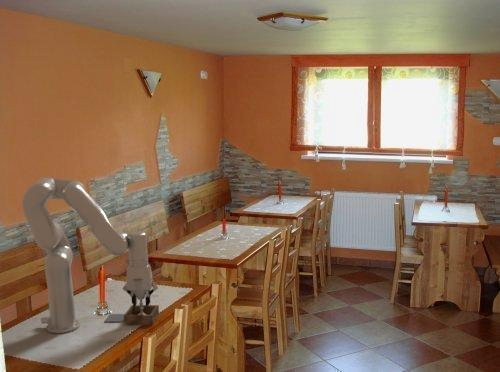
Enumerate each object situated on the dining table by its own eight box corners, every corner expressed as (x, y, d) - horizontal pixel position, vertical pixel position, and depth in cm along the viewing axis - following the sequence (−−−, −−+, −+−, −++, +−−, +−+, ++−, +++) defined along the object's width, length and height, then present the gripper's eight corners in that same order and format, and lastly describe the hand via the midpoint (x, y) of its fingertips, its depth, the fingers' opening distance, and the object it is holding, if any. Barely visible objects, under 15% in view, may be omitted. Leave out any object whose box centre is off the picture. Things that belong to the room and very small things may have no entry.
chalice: (148, 322, 229) (146, 280, 227) (131, 323, 230) (129, 280, 227) (152, 315, 237) (149, 274, 234) (135, 316, 237) (133, 274, 234)
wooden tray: (124, 325, 228) (123, 315, 227) (132, 314, 239) (131, 305, 238) (152, 325, 227) (152, 315, 226) (159, 314, 238) (158, 305, 238)
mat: (104, 322, 231) (104, 321, 231) (110, 314, 239) (110, 314, 239) (123, 322, 231) (123, 321, 231) (128, 314, 238) (128, 313, 238)
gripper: (115, 265, 226) (118, 308, 229) (157, 264, 225) (159, 308, 228) (120, 259, 233) (123, 301, 236) (161, 259, 232) (163, 301, 235)
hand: (141, 304), depth 232 cm, fingers closed on chalice, 4 cm apart
